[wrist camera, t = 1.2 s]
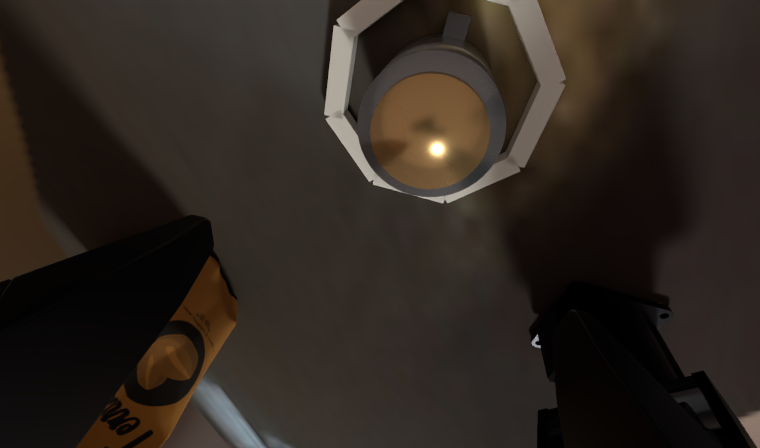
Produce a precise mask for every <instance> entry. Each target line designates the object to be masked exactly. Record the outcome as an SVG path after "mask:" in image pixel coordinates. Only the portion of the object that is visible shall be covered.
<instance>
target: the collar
mask: <svg viewBox="0 0 760 448" xmlns="http://www.w3.org/2000/svg"><path fill="white" fill-rule="evenodd" d="M403 1H404V0H360V1H359V2H358V3H357V4H356V5H354V6H353V7H352V8H351V9H349V10H348V11H347V12H346V13H344V14H343V15H342V16H341V17H340V18H338V19H337V22H338V23H339V24H336V25H334V28H333V37H332V47H331V56H330V65H329V75H328V84H327V93H326V103H325V112H324V115H328V117H327V118H326V121H327V122H328V124H329V125H330V126H331V128H332V129H333V131H334V132H335V134H336V135H337V136H338V138H339V139H340V141H341V142H342V144H343V145H344V146H345V148H346V149H347V151H348V152H349V154H350V155H351V156H352V158H353V159H354V161H355V162H356V164H357V165H358V166H359V168H360V169H361V171H362V172H363V174H364V175H365V176H366V178H367V179H368V181H369V182H370V181H372V180H374V182H373V185H377V186H381V187H384V188H388V189H392V190H396V191H399V192H402V191H400V190H397V189H395V188H394V187H392V186H390V185H389V184H387V183H386V182H385V181H383V180H382V179H381V178H380V177H379V176H378V175H377V174H376V173H375V172H374V171H373V169H372V168H371V167H370V166H369V164H368V162H367V161H366V159H365V157H364V155H363V152H362V150H361V147H360V143H359V138H358V130H357V123H356V121H355V120H354V118H353V117H352V115H351V114H350V112H349V111H348V103H349V96H350V89H351V82H352V76H353V69H354V62H355V55H356V48H357V41H358V35H359V34H361V33H362V32H363V31H364V30H366V29H367V28H368V27H370V26H371V25H372V24H374V23H375V22H376V21H378V20H379V19H380V18H382V17H383V16H384V15H385V14H387V13H388V12H389V11H391V10H392V9H393V8H395V7H396V6H397V5H399V4H400V3H401V2H403ZM487 1H491V2H495V3H499V4H503V5H507V8H508V10H509V13H510V15H511V18H512V20H513V23H514V25H515V27H516V30H517V32H518V35H519V37H520V40H521V42H522V45H523V47H524V50H525V52H526V55H527V57H528V60H529V62H530V65H531V67H532V70H533V72H534V75H535V77H536V80H537V83H536V85H535V87H534V90H533V92H532V94H531V96H530V98H529V101H528V103H527V105H526V107H525V110H524V112H523V114H522V116H521V118H520V121H519V123H518V125H517V127H516V130H515V132H514V134H513V136H512V138H511V141H510V143H509V145H508V147H507V150H506V151H505V152H503V153H501V154H499V156H498V158H497V160H496V161H495V163H494V164H493V166H492V167H491V168H490V170H489V171H488V172H487V173H486V174H485V175H484V176H483V177H482V178H481V179H479V180H478V181H477V182H476V183H474V184H473V185H471V186H470V187H468V188H466V189H464V190H462V191H459V192H457V193H454V194H450V195H446V196H440V197H421V196H418V197H421V198H425V199H429V200H432V201H436V202H440V203H443V202H444V200H446V201H447V203H449V202H451V201H454V200H456V199H458V198H461V197H463V196H465V195H467V194H470V193H472V192H474V191H477V190H479V189H481V188H484V187H486V186H488V185H490V184H493V183H495V182H497V181H500V180H502V179H504V178H506V177H509V176H511V175H513V174H516V173H518V172H520V168H519V167H523V168H525V166H526V164H527V162H528V160H529V158H530V156H531V154H532V152H533V150H534V148H535V146H536V144H537V142H538V140H539V138H540V136H541V134H542V132H543V130H544V128H545V126H546V124H547V122H548V120H549V118H550V116H551V114H552V112H553V110H554V108H555V106H556V104H557V102H558V100H559V98H560V95H561V93H562V91H563V89H564V87H565V84H564V83H563V82H562V81H564V80H566V77H565V74H564V72H563V69H562V66H561V64H560V61H559V58H558V55H557V53H556V50H555V47H554V44H553V42H552V39H551V36H550V33H549V31H548V28H547V25H546V23H545V20H544V17H543V14H542V12H541V9H540V6H539V3H538V1H537V0H487ZM403 193H404V192H403ZM414 196H415V195H414Z"/></svg>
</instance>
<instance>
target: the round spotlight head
mask: <svg viewBox="0 0 760 448" xmlns="http://www.w3.org/2000/svg"><path fill="white" fill-rule="evenodd" d="M471 18H472V17H471V16H468V15H464V14H461V13H457V12H453V11H449V13H448V17H447V20H446V24H445V28H444V31H443V34H431V35H427V36H423V37H420V38H418V39H416V40H414V41H412V42H410V43H409V44H407V45H406V46H405V47H403V48H402V49H401V50H400V51H399V52H398V53H397V54H396V55H395V57H394V58H393V59H392V60H391V61H390V62H389V63H388V65H387V66H386V67H385V68H384V69H383V70H382V71H381V72H380V74H379V75H378V76H377V77H376V78H375V79H374V81H373V82H372V83H371V85H370V86H369V88H368V89H367V91H366V93H365V95H364V97H363V100H362V102H361V105H360V109H359V113H358V122H357V130H358V138H359V143H360V147H361V150H362V152H363V155H364V157H365V159H366V161H367V162H368V164H369V166H370V167H371V168H372V169H373V171H374V172H375V173H376V174H377V175H378V176H379V177H380V178H381V179H382V180H383V181H385V182H386V183H387V184H389V185H390V186H392V187H394V188H395V189H397V190H400V191H402V192H404V193H407V194H410V195H415V196H421V197H440V196H446V195H450V194H454V193H457V192H459V191H462V190H464V189H466V188H468V187H470V186H471V185H473V184H474V183H476V182H477V181H478V180H479V179H481V178H482V177H483V176H484V175H485V174H486V173H487V172H488V171H489V170H490V168H491V167H492V166H493V164H494V163H495V161H496V160H497V158H498V156H499V154H500V152H501V149H502V146H503V144H504V139H505V135H506V112H505V108H504V103H503V101H502V98H501V95H500V93H499V90H498V87H497V85H496V82H495V80H494V77H493V75H492V72H491V70H490V67H489V65H488V63H487V61H486V59H485V57H484V56H483V55H482V53H481V52H480V51H479V50H478V49H477V48H476V47H475V46H474V45H472V44H471V43H470V42H468V41H466V40H465V37H466V34H467V31H468V28H469V25H470V21H471Z"/></svg>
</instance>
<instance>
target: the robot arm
mask: <svg viewBox="0 0 760 448" xmlns="http://www.w3.org/2000/svg"><path fill="white" fill-rule="evenodd" d="M213 247H214V241H213V234H212V228H211V222H210V220H209V219H207V218H205V217H201V216H197V215H189V216H186V217H183V218H181V219H178V220H175V221H172V222H169V223H166V224H164V225H161V226H158V227H155V228H152V229H149V230H147V231H144V232H141V233H138V234H135V235H132V236H130V237H127V238H124V239H121V240H118V241H115V242H113V243H110V244H107V245H104V246H101V247H98V248H96V249H93V250H90V251H87V252H84V253H81V254H78V255H76V256H73V257H70V258H67V259H64V260H62V261H59V262H56V263H53V264H50V265H47V266H44V267H42V268H39V269H36V270H33V271H30V272H27V273H25V274H22V275H19V276H16V277H14V278H13V279H12V280H10V279H7V280H4V281H2V282H0V448H77V446H78V445H79V444H80V442H81V441H82V439H83V438H84V437H85V435H86V434H87V433H88V431H89V430H90V429H91V427H92V426H93V424H94V423H95V422H96V420H97V419H98V418H99V416H100V415H101V414H102V412H103V411H104V409H105V408H106V407H107V405H108V404H109V403H110V401H111V400H112V399H113V397H114V396H115V394H116V393H117V392H118V390H119V389H120V388H121V386H122V385H123V384H124V382H125V381H126V379H127V378H128V377H129V375H130V374H131V373H132V371H133V370H134V369H135V367H136V366H137V364H138V363H139V362H140V360H141V359H142V358H143V356H144V355H145V354H146V352H147V351H148V350H149V348H150V347H151V345H152V344H153V343H154V341H155V340H156V339H157V337H158V336H159V335H160V333H161V332H162V330H163V329H164V328H165V326H166V325H167V324H168V322H169V321H170V320H171V318H172V317H173V315H174V314H175V313H176V311H177V310H178V308H179V307H180V306H181V304H182V303H183V301H184V300H185V298H186V296H187V295H188V293H189V291H190V289H191V288H192V286H193V284H194V283H195V281H196V279H197V277H198V276H199V274H200V272H201V270H202V269H203V267H204V265H205V264H206V262H207V260H208V258H209V257H210V255H211V253H212V251H213ZM576 290H579V291H576ZM673 316H674V314H673V312H672V311H671V309H670V308H669V307H667V306H664V305H660V304H657V303H653V302H649V301H646V300H642V299H639V298H635V297H631V296H628V295H624V294H620V293H617V292H613V291H610V290H606V289H602V288H599V287H595V286H591V285H588V284H584V283H579V282H577V283H573V284H571V285H570V286H569V288H568V289H567V290H566V292H565V293H564V294H563V296H562V297H561V298H560V300H559V301H558V302H557V304H556V305H555V306H554V307H552V308H551V310H550V311H549V312H548V314H547V315H546V316H545V318H544V319H543V320H542V322H541V323H540V324H539V326H538V327H537V330H536V331H535V333H534V334H533V335H532V337H531V342H532V345H533V346H535V347H538V348H541V351H542V356H543V360H544V364H545V369H546V373H547V377H548V379H549V381H550V382H552V383H555V386H556V397H557V405H558V407H557V408H553V409H549V410H548V409H547V408H546V409H542V410H538V425H537V448H757V447H756V445H755V444H754V442H753V441H752V439H751V438H750V436H749V434H748V433H747V432H746V430H745V428H744V427H743V426H742V424H741V422H740V421H739V419H738V418H737V416H736V415H735V413H734V412H733V411H732V409H731V408H730V407H729V405H728V404H727V402H726V401H725V400H724V398H723V397H722V395H721V394H720V393H719V391H718V390H717V389H716V387H715V386H714V384H713V383H712V382H711V380H710V379H709V377H708V376H707V375H706V373H705V372H704V371H700V372H695V373H691V374H692V376H688V377H685V376H684V374H683V373H682V371H681V369H680V367H679V366H678V364H677V362H676V361H675V359H674V357H673V355H672V354H671V352H670V350H669V348H668V347H667V345H666V343H665V342H664V340H663V338H662V336H661V335H660V333H659V330H660V329H661V328H662V327H663V326H664V325H665V324H666V323H667V322H669V321H670V320H671V319H672V318H673Z"/></svg>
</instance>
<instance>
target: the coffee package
mask: <svg viewBox="0 0 760 448" xmlns="http://www.w3.org/2000/svg"><path fill="white" fill-rule="evenodd" d="M237 312H238V303H237V300H236V299H235V298H234V297H233V296H231V294H230V293H229V291H228V288H227V284H226V282H225V280H224V279H223V278H222V275H221V273H220V266H219V264H218V262H217V261H216V260H215V258H213V257H211V255H210V257H209V258H208V260H207V262H206V264H205V265H204V267H203V269H202V270H201V272H200V274H199V276H198V277H197V279H196V281H195V283H194V284H193V286H192V288H191V289H190V291H189V293H188V295H187V296H186V298H185V300H184V301H183V303H182V304H181V306H180V307H179V308H178V310H177V311H176V313H175V314H174V315H173V317H172V318H171V320H170V321H169V322H168V324H167V325H166V326H165V328H164V329H163V330H162V332H161V333H160V335H159V336H158V337H157V339H156V340H155V341H154V343H153V344H152V345H151V347H150V348H149V350H148V351H147V352H146V354H145V355H144V356H143V358H142V359H141V360H140V362H139V363H138V364H137V366H136V367H135V369H134V370H133V371H132V373H131V374H130V375H129V377H128V378H127V379H126V381H125V382H124V384H123V385H122V386H121V388H120V389H119V390H118V392H117V393H116V394H115V396H114V397H113V399H112V400H111V401H110V403H109V404H108V405H107V407H106V408H105V409H104V411H103V412H102V414H101V415H100V416H99V418H98V419H97V420H96V422H95V423H94V424H93V426H92V427H91V429H90V430H89V431H88V433H87V434H86V435H85V437H84V438H83V439H82V441H81V442H80V444H79V445H78V446H77V448H160V447H161V445H162V444H163V443H164V441H166V439H167V438H168V437H169V436H170V434H171V432H172V430H173V429H174V427H175V425H176V423H177V421H178V419H179V418H180V416H181V414H182V412H183V411H184V409H185V407H186V405H187V403H188V402H189V400H190V398H191V396H192V394H193V392H194V391H195V389H196V387H197V385H198V383H199V381H200V380H201V378H202V377H203V375H204V374H205V372H206V370H207V369H208V367H209V365H210V364H211V362H212V361H213V359H214V358H215V356H216V354H217V353H218V351H219V350H220V348H221V347H222V345H223V343H224V342H225V340H226V339H227V337H228V335H229V334H230V332H231V331H232V329H233V328H234V326H235V325H236V323H237V319H236V316H237Z"/></svg>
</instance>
